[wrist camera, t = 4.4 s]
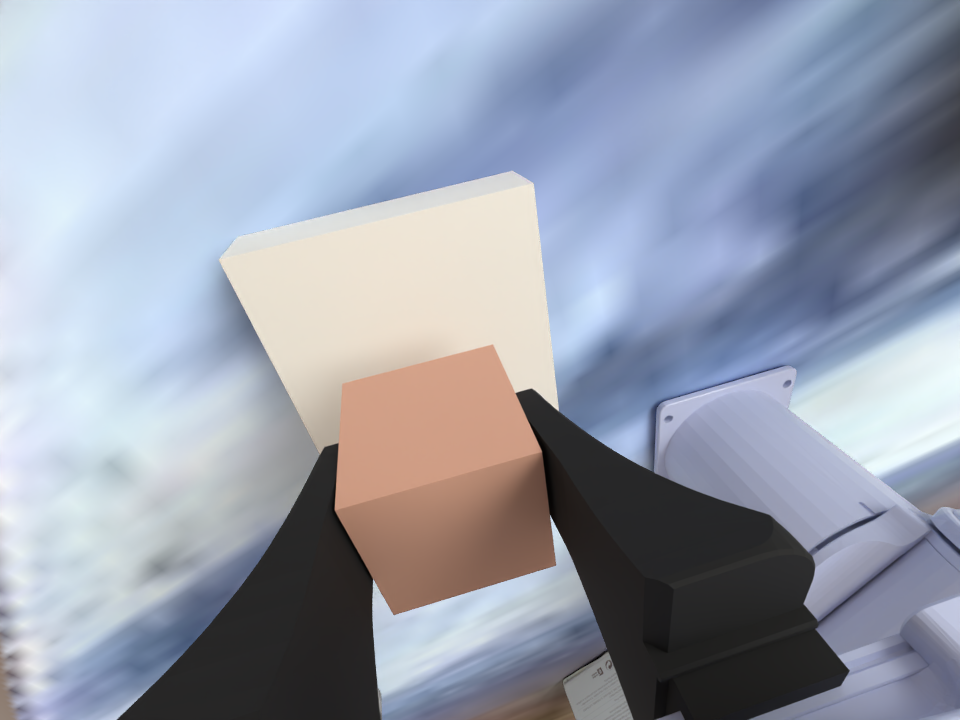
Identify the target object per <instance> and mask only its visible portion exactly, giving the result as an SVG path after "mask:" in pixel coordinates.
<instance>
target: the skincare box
mask: <svg viewBox="0 0 960 720" xmlns="http://www.w3.org/2000/svg"><path fill="white" fill-rule="evenodd" d="M563 685H564V689H565V692H566V695H567V697H568V700H569V702H570V705H571V708H572V711H573V713H574V716H575V719H576V720H633V717H632V714H631V712H630V709H629V706H628V703H627V701H626V698H625V695H624V692H623V690H622V687H621V684H620V682H619V679H618V676H617V673H616V671H615V668H614V665H613V663H612V660H611V657H610V655H609V652H607V653H605V654H604V655H603V656H602V657H600V658H599V659H597V660H596V661H594V662H592V663H591V664H589V665H587V666H585V667H583V668H582V669H580V670H578V671H577V672H575V673H573V674H572V675H570V676H569V677H567V678H566V679H564V680H563Z"/></svg>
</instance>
